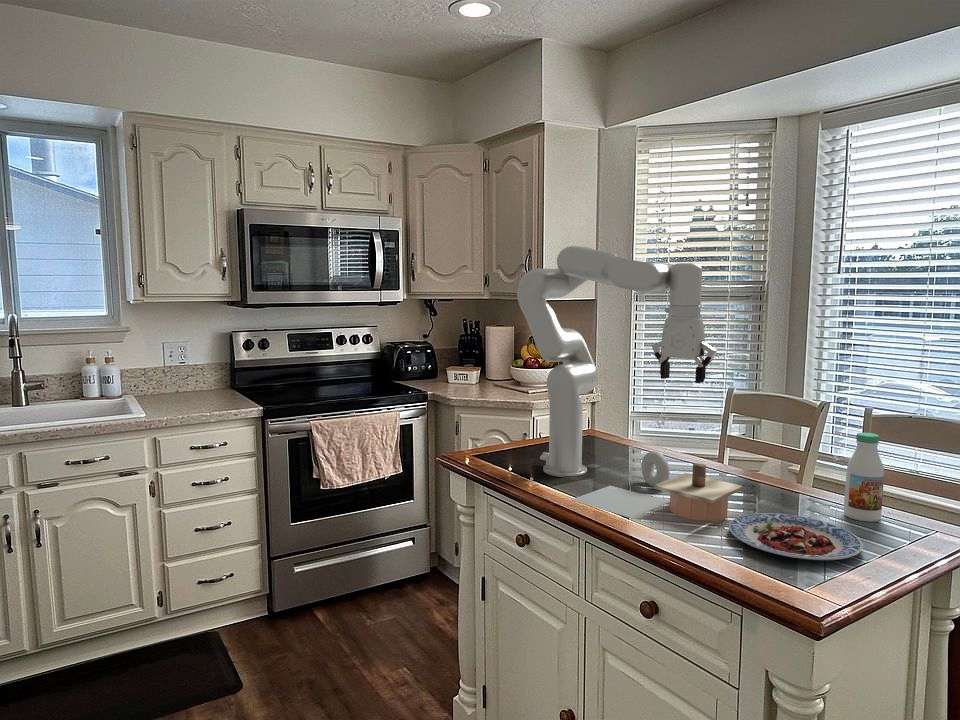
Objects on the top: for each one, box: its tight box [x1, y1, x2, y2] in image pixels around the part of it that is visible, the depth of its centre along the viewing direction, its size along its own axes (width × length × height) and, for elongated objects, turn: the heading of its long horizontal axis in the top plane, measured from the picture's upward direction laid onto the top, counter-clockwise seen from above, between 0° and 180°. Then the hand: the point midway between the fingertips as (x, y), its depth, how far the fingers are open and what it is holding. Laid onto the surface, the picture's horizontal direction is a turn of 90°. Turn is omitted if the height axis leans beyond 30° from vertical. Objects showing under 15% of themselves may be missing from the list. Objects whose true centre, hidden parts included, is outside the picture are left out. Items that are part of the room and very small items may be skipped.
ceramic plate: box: [728, 512, 864, 561], centre depth 142 cm, size 26×26×3 cm
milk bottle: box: [843, 432, 885, 523], centre depth 156 cm, size 8×8×20 cm
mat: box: [571, 485, 670, 519], centre depth 167 cm, size 18×17×1 cm
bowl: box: [669, 492, 729, 524], centre depth 159 cm, size 13×13×6 cm
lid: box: [653, 462, 744, 503], centre depth 159 cm, size 15×15×6 cm
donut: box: [640, 450, 670, 488], centre depth 179 cm, size 10×4×10 cm, turn 23°
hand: (682, 380), depth 169 cm, fingers open, 9 cm apart
